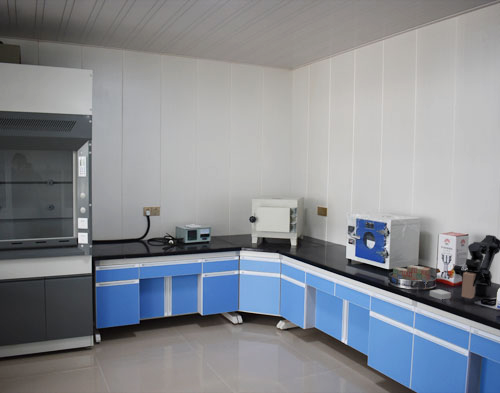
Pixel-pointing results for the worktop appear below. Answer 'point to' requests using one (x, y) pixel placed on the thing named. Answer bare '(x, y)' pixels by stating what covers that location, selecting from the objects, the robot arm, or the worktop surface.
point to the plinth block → (440, 294)
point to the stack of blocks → (412, 273)
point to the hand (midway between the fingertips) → (467, 285)
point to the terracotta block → (468, 285)
